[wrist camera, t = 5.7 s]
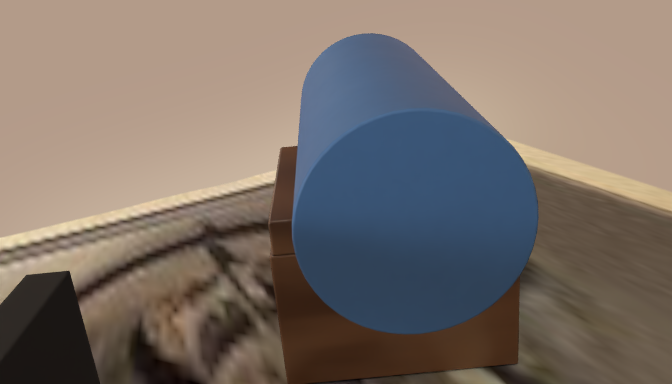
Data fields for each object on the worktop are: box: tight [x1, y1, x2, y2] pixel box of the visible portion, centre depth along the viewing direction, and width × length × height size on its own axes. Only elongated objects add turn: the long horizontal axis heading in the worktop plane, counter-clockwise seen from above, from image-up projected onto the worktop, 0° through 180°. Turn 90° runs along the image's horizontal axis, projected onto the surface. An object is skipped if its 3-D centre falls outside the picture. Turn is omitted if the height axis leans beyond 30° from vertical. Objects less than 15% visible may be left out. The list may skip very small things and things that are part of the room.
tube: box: [292, 33, 538, 335], centre depth 20 cm, size 13×6×6 cm, turn 2°
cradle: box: [268, 146, 520, 384], centre depth 24 cm, size 8×8×6 cm
